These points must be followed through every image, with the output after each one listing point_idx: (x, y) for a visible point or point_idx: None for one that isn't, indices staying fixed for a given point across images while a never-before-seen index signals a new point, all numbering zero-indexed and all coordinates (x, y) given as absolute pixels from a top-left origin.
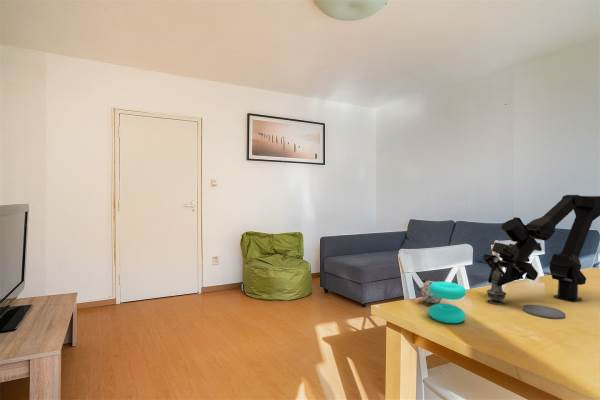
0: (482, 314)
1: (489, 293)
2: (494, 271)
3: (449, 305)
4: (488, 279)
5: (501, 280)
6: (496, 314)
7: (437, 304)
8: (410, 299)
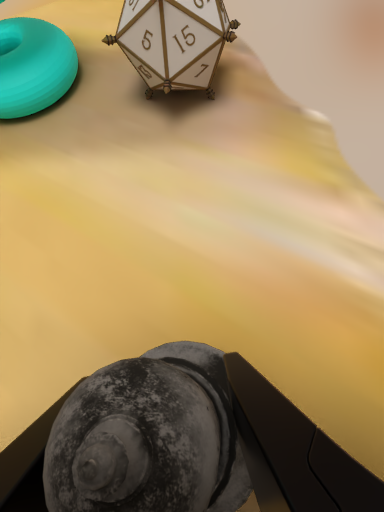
0: (23, 211)
1: (181, 350)
2: (120, 376)
3: (10, 52)
4: (241, 359)
5: (36, 422)
6: (4, 274)
7: (28, 23)
8: (238, 39)
